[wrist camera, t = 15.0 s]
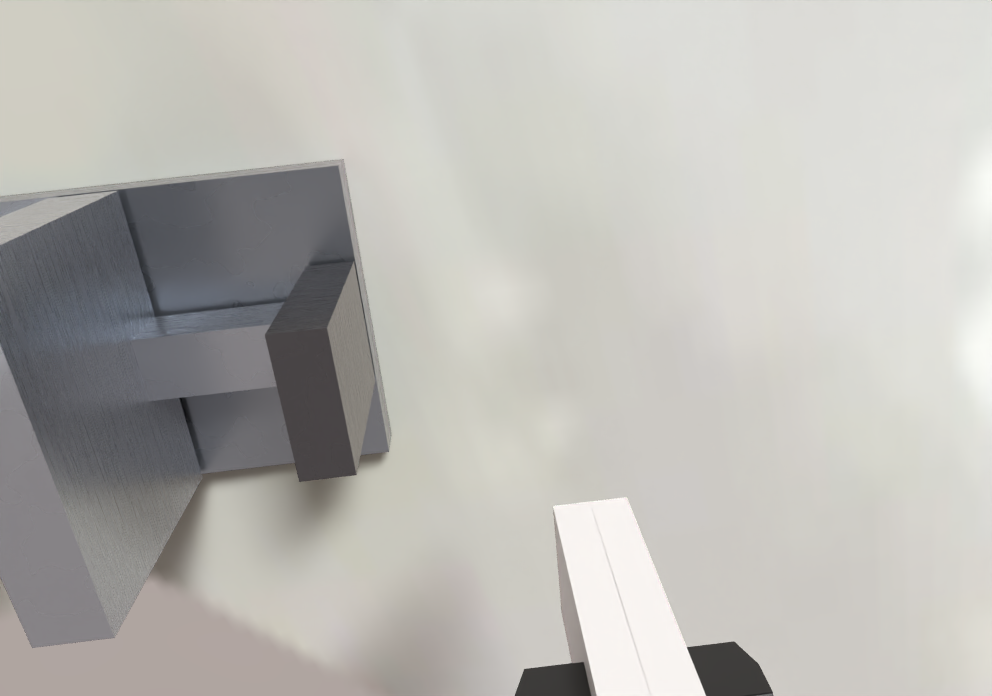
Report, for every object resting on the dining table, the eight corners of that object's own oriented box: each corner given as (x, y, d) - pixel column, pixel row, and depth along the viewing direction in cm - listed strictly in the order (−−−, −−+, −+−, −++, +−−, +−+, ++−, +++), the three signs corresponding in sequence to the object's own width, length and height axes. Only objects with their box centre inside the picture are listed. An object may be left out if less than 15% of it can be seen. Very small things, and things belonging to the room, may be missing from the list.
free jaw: (30, 200, 26) (-163, 274, 18) (337, 166, 26) (288, 224, 18) (128, 486, 31) (12, 650, 22) (388, 455, 31) (368, 606, 23)
